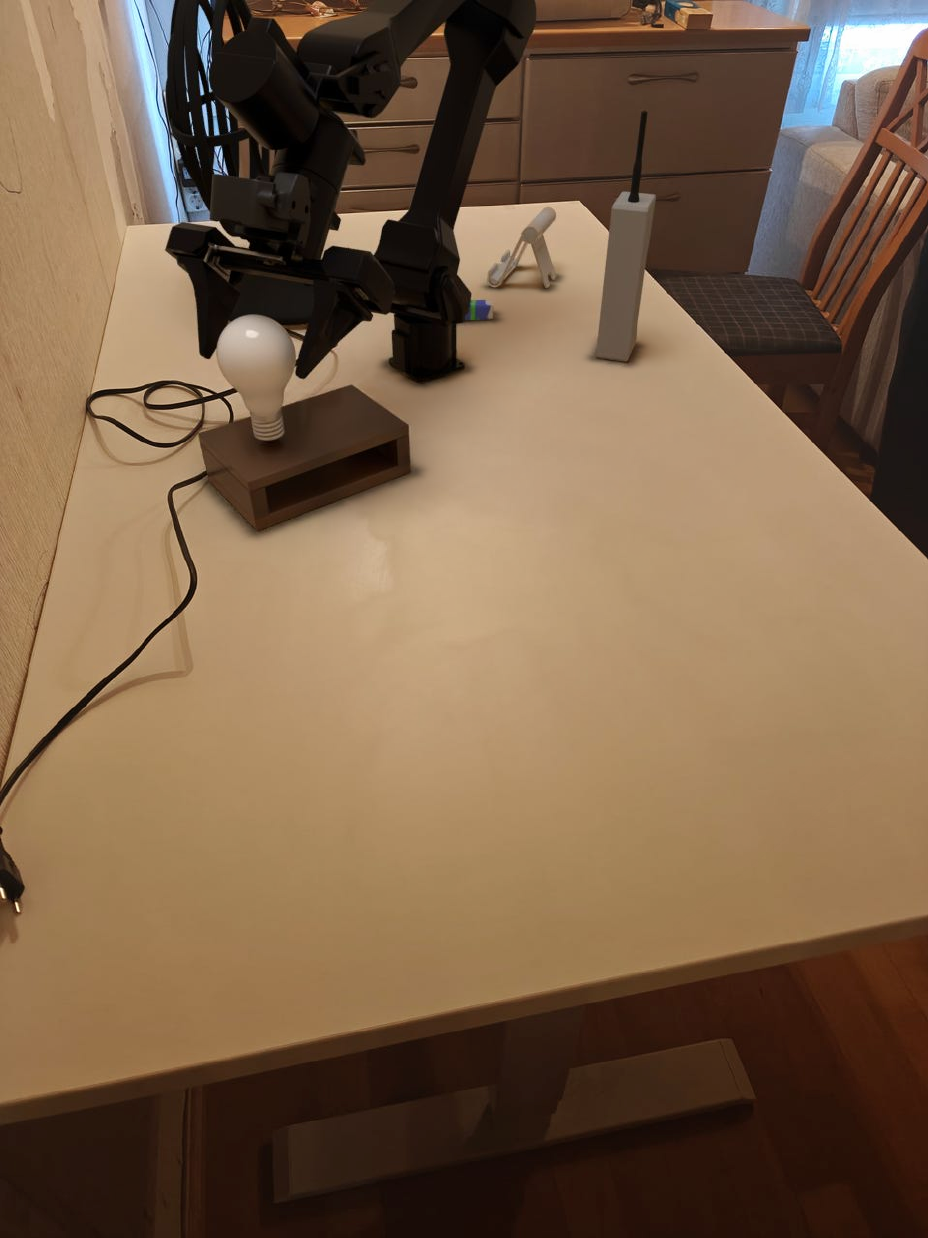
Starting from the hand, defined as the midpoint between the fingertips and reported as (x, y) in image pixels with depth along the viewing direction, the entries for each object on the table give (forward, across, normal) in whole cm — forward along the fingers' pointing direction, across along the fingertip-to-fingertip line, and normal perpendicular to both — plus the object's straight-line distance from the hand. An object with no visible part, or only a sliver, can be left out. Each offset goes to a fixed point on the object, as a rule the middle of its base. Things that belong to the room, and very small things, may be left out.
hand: (251, 366), depth 71 cm
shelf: (+6, +2, +11) cm, 13 cm away
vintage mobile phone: (-20, +21, +38) cm, 48 cm away
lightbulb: (+5, 0, +6) cm, 7 cm away
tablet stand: (-32, +3, +50) cm, 60 cm away
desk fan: (-19, -24, +37) cm, 48 cm away
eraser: (-22, +1, +40) cm, 45 cm away
